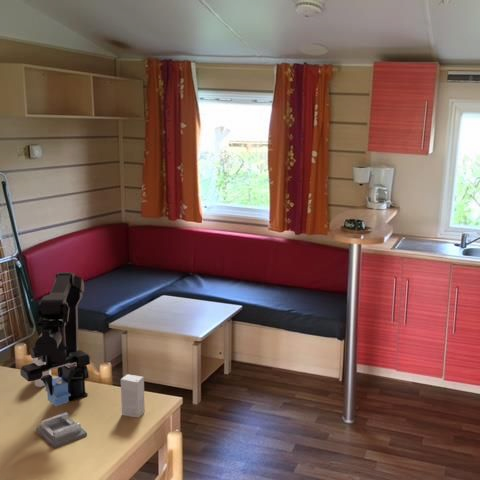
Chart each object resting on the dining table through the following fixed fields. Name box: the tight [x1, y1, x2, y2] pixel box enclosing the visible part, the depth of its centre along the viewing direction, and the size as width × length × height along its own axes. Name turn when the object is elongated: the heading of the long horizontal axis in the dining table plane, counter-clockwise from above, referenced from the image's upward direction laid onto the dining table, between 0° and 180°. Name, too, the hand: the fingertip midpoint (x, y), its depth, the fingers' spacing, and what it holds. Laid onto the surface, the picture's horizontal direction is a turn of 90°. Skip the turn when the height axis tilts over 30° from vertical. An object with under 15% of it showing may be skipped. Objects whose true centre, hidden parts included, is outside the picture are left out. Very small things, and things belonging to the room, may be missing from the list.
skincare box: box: [120, 373, 146, 419], centre depth 184 cm, size 6×4×12 cm
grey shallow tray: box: [35, 412, 88, 449], centre depth 173 cm, size 10×12×4 cm
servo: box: [44, 377, 71, 407], centre depth 171 cm, size 4×8×7 cm, turn 42°
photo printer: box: [32, 358, 52, 388], centre depth 205 cm, size 10×4×12 cm, turn 5°
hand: (57, 392), depth 171 cm, fingers closed on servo, 4 cm apart
